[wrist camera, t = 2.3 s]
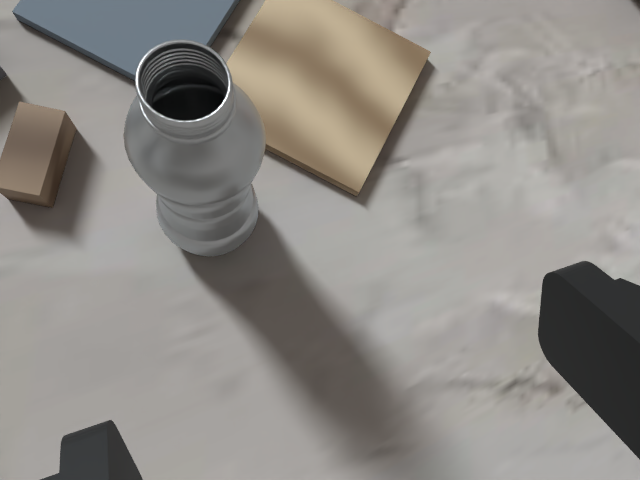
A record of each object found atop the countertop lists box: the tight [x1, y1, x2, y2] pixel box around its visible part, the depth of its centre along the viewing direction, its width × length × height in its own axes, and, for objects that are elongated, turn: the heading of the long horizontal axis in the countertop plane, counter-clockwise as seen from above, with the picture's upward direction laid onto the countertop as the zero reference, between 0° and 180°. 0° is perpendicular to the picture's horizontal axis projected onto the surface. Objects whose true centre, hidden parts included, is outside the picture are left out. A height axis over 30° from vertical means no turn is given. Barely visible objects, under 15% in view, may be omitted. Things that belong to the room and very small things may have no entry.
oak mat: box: [226, 0, 431, 196], centre depth 45 cm, size 13×13×1 cm
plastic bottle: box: [124, 39, 266, 256], centre depth 33 cm, size 6×7×20 cm
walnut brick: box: [0, 102, 76, 208], centre depth 40 cm, size 6×3×3 cm, turn 170°
